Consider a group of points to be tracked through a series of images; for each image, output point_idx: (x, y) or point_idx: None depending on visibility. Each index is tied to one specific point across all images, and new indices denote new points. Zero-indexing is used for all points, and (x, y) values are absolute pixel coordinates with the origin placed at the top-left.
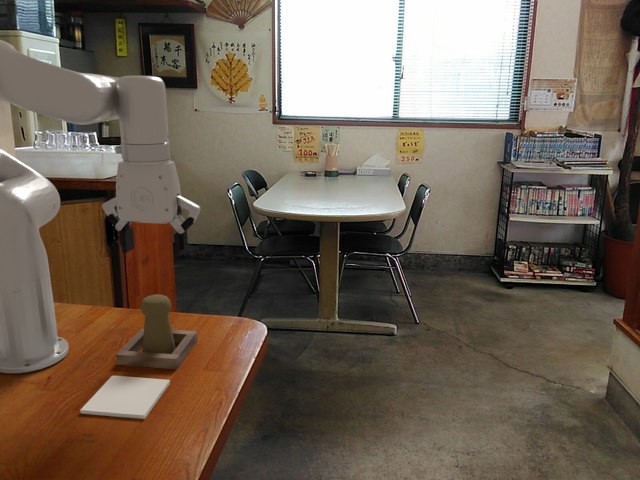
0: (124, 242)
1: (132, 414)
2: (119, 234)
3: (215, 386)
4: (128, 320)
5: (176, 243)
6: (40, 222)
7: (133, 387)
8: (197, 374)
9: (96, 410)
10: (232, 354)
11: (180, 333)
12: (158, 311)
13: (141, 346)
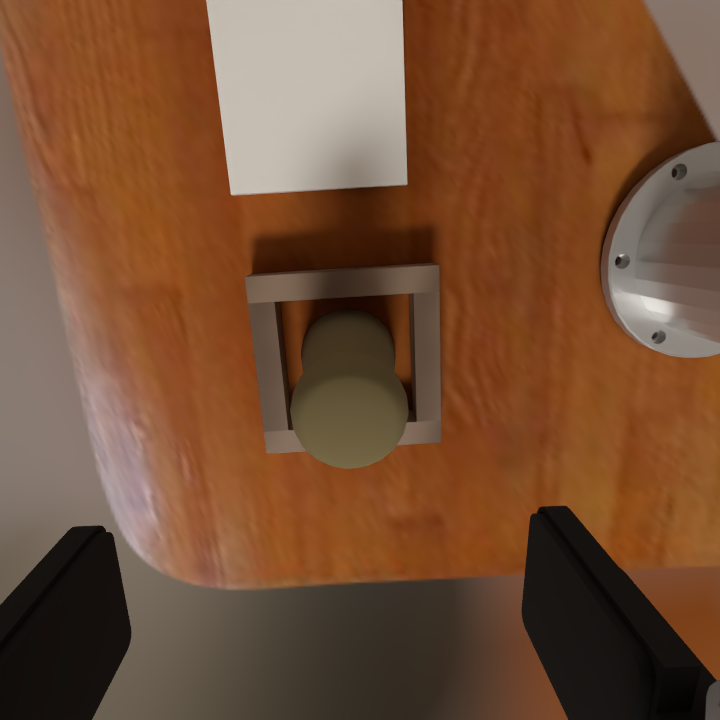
0: (585, 569)
1: None
2: (691, 653)
3: (100, 205)
4: (522, 510)
5: (20, 604)
6: None
7: (313, 131)
8: (182, 258)
9: None
10: (138, 386)
11: None
12: (314, 363)
13: (411, 372)
